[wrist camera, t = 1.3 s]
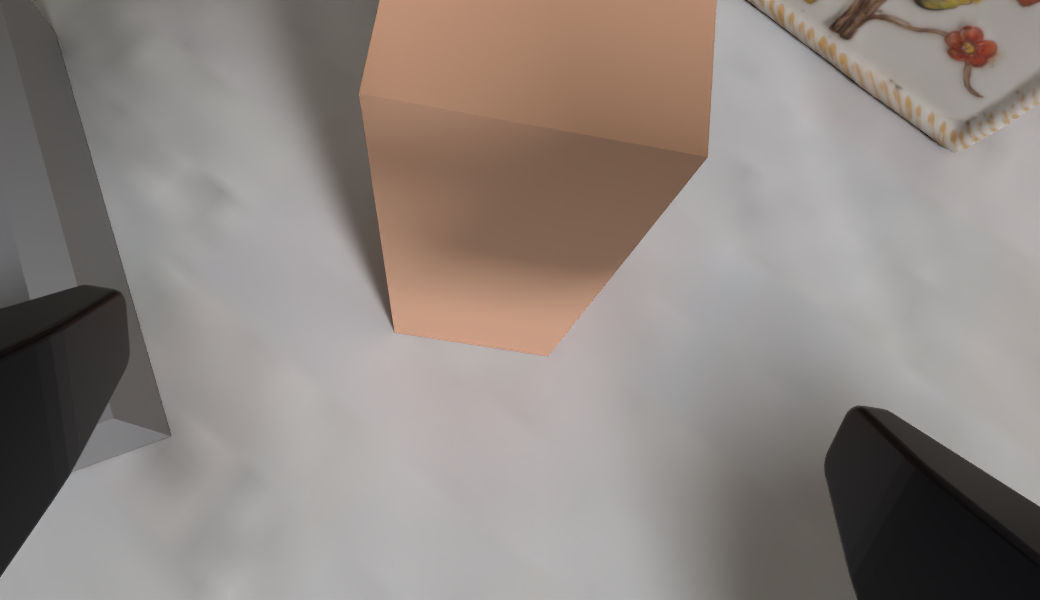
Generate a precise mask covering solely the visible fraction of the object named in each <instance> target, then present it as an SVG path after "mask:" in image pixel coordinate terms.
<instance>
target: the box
mask: <svg viewBox="0 0 1040 600" xmlns="http://www.w3.org/2000/svg"><path fill="white" fill-rule="evenodd" d="M80 285H93V286H100V287H106V288H112V289H117V290H119V291H120V292H121V293H122V294H123V295H124V297H125V300H126V305H127V316H128V328H129V340H130V358H129V362H128V365H127V368H126V370H125V372H124V374H123V376H122V378H121V380H120V382H119V384H118V386H117V388H116V390H115V391H114V393H113V395H112V397H111V399H110V401H109V403H108V405H107V407H106V409H105V411H104V412H103V414H102V416H101V418H100V420H99V422H98V424H97V426H96V428H95V430H94V431H93V433H92V435H91V437H90V439H89V441H88V443H87V445H86V447H85V449H84V451H83V452H82V454H81V456H80V458H79V460H78V462H77V463H76V465H75V467H74V469H73V470H72V472H73V471H76V470H79V469H81V468H84V467H87V466H90V465H93V464H95V463H98V462H101V461H104V460H106V459H109V458H112V457H115V456H118V455H120V454H123V453H126V452H129V451H131V450H134V449H137V448H140V447H142V446H145V445H148V444H151V443H154V442H156V441H159V440H162V439H165V438H167V437H170V436H171V434H170V430H169V427H168V423H167V420H166V416H165V413H164V409H163V406H162V402H161V399H160V395H159V392H158V388H157V385H156V381H155V378H154V374H153V371H152V367H151V364H150V360H149V357H148V353H147V350H146V347H145V343H144V340H143V336H142V333H141V329H140V326H139V322H138V319H137V315H136V312H135V308H134V305H133V301H132V298H131V294H130V291H129V287H128V284H127V280H126V277H125V273H124V270H123V266H122V263H121V259H120V256H119V252H118V249H117V246H116V242H115V239H114V235H113V232H112V228H111V225H110V221H109V218H108V214H107V211H106V207H105V204H104V200H103V197H102V193H101V190H100V186H99V183H98V179H97V176H96V172H95V169H94V165H93V162H92V158H91V155H90V151H89V148H88V144H87V141H86V138H85V134H84V131H83V127H82V124H81V120H80V117H79V113H78V110H77V106H76V103H75V99H74V96H73V92H72V89H71V85H70V82H69V78H68V75H67V71H66V68H65V64H64V61H63V57H62V54H61V50H60V47H59V43H58V40H57V37H56V33H55V32H54V31H53V29H52V28H51V27H50V25H49V24H48V23H47V21H46V20H45V19H44V17H43V16H42V15H41V14H40V12H39V11H38V10H37V8H36V7H35V6H34V4H33V3H32V2H31V0H0V309H1V308H5V307H8V306H11V305H15V304H18V303H22V302H25V301H29V300H32V299H35V298H39V297H42V296H46V295H49V294H53V293H56V292H59V291H63V290H66V289H70V288H73V287H77V286H80Z"/></svg>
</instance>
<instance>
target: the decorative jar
mask: <svg viewBox="0 0 1040 600" xmlns="http://www.w3.org/2000/svg"><path fill="white" fill-rule="evenodd" d="M748 1H749V2H751V3H752V4H753V5H754V6H755V7H757V8H758V9H759V10H761V11H762V12H763V13H765V14H766V15H767V16H769V17H771V18H772V19H773V20H774V21H775V22H777V23H778V24H779V25H781V26H782V27H784V28H785V29H786V30H787V31H789V32H790V33H791V34H793V35H794V36H795V37H797V38H798V39H799V40H800V41H802V42H803V43H804V44H806V45H807V46H809V47H810V48H811V49H813V50H814V51H815V52H817V53H818V54H820V55H821V56H822V57H823V58H825V59H826V60H827V61H829V62H830V63H832V64H833V65H834V66H835V67H836V68H838V69H839V70H840V71H841V72H843V73H844V74H845V75H847V76H848V77H849V78H851V79H852V80H854V81H855V82H856V83H857V84H858V85H859V86H860V87H862V88H863V89H864V90H866V91H867V92H869V93H870V94H871V95H872V96H874V97H875V98H877V99H878V100H880V101H882V102H883V103H884V104H885V105H887V106H888V107H890V108H891V109H893V110H894V111H895V112H897V113H898V114H899V115H900V116H902V117H903V118H905V119H906V120H907V121H909V122H910V123H912V124H913V125H914V126H916V127H917V128H919V129H920V130H921V131H923V132H924V133H926V134H927V135H928V136H930V137H931V138H932V139H933V140H934V141H936V142H937V143H938V144H940V145H942V146H943V147H945V148H947V149H948V150H950V151H952V152H959V151H962V150H964V149H966V148H968V147H970V146H971V145H973V144H975V143H976V142H978V141H980V140H982V139H985V138H986V137H988V136H990V135H991V134H992V133H994V132H996V131H998V130H999V129H1001V128H1002V127H1004V126H1005V125H1007V124H1009V123H1010V122H1011V121H1013V120H1014V119H1016V118H1018V117H1019V116H1021V115H1023V114H1024V113H1026V112H1028V111H1029V110H1031V109H1032V108H1033V107H1035V106H1036V105H1038V104H1040V0H748Z"/></svg>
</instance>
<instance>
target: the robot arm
mask: <svg viewBox="0 0 1040 600" xmlns="http://www.w3.org/2000/svg"><path fill="white" fill-rule="evenodd" d="M129 358H130V340H129V328H128V316H127V305H126V300H125V297H124V295H123V294H122V293H121V292H120V291H119V290H117V289H112V288H106V287H100V286H93V285H80V286H77V287H73V288H70V289H66V290H63V291H59V292H56V293H53V294H49V295H46V296H42V297H39V298H35V299H32V300H29V301H25V302H22V303H18V304H15V305H11V306H8V307H5V308H1V309H0V577H1V575H2V574H3V573H4V571H5V570H6V568H7V567H8V565H9V564H10V562H11V561H12V559H13V558H14V556H15V555H16V554H17V552H18V551H19V549H20V548H21V546H22V545H23V543H24V542H25V540H26V539H27V538H28V536H29V535H30V533H31V532H32V530H33V529H34V527H35V526H36V524H37V523H38V522H39V520H40V519H41V517H42V516H43V514H44V513H45V511H46V510H47V508H48V507H49V506H50V504H51V503H52V501H53V500H54V498H55V497H56V495H57V494H58V492H59V491H60V489H61V488H62V486H63V485H64V483H65V482H66V480H67V479H68V477H69V475H70V474H71V472H72V470H73V469H74V467H75V465H76V463H77V462H78V460H79V458H80V456H81V454H82V452H83V451H84V449H85V447H86V445H87V443H88V441H89V439H90V437H91V435H92V433H93V431H94V430H95V428H96V426H97V424H98V422H99V420H100V418H101V416H102V414H103V412H104V411H105V409H106V407H107V405H108V403H109V401H110V399H111V397H112V395H113V393H114V391H115V390H116V388H117V386H118V384H119V382H120V380H121V378H122V376H123V374H124V372H125V370H126V368H127V365H128V362H129ZM824 469H825V476H826V481H827V485H828V489H829V493H830V497H831V501H832V506H833V510H834V514H835V518H836V522H837V527H838V531H839V535H840V539H841V543H842V547H843V552H844V556H845V560H846V564H847V567H848V571H849V575H850V578H851V582H852V585H853V588H854V591H855V594H856V597H857V600H1040V506H1038V505H1036V504H1035V503H1033V502H1032V501H1030V500H1028V499H1027V498H1025V497H1024V496H1022V495H1021V494H1019V493H1017V492H1016V491H1014V490H1013V489H1011V488H1010V487H1008V486H1006V485H1005V484H1003V483H1002V482H1000V481H999V480H997V479H995V478H994V477H992V476H991V475H989V474H988V473H986V472H984V471H983V470H981V469H980V468H978V467H976V466H975V465H973V464H972V463H970V462H969V461H967V460H965V459H964V458H962V457H961V456H959V455H958V454H956V453H954V452H953V451H951V450H950V449H948V448H947V447H945V446H943V445H942V444H940V443H939V442H937V441H936V440H934V439H932V438H931V437H929V436H928V435H926V434H924V433H923V432H921V431H920V430H918V429H917V428H915V427H913V426H912V425H910V424H909V423H907V422H906V421H904V420H902V419H901V418H899V417H898V416H896V415H895V414H893V413H891V412H890V411H888V410H884V409H880V408H873V407H867V406H855V407H853V408H851V409H850V410H849V411H848V412H847V414H846V415H845V417H844V419H843V421H842V423H841V425H840V427H839V430H838V432H837V434H836V436H835V438H834V440H833V442H832V444H831V446H830V448H829V450H828V452H827V454H826V458H825V464H824Z"/></svg>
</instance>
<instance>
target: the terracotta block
mask: <svg viewBox="0 0 1040 600" xmlns="http://www.w3.org/2000/svg"><path fill="white" fill-rule="evenodd" d="M716 3H717V0H380V1H379V5H378V10H377V14H376V19H375V23H374V27H373V32H372V36H371V41H370V45H369V50H368V54H367V59H366V63H365V68H364V72H363V77H362V81H361V86H360V90H359V98H360V104H361V111H362V118H363V124H364V131H365V138H366V145H367V151H368V158H369V165H370V171H371V178H372V185H373V191H374V198H375V205H376V211H377V218H378V225H379V231H380V238H381V245H382V251H383V258H384V265H385V272H386V278H387V285H388V292H389V298H390V305H391V312H392V318H393V325H394V332H396V333H402V334H409V335H415V336H421V337H428V338H434V339H441V340H447V341H454V342H460V343H466V344H473V345H479V346H486V347H492V348H499V349H505V350H511V351H518V352H524V353H531V354H537V355H544V356H549V354H550V353H551V352H552V351H553V349H554V348H555V347H556V346H557V344H558V343H559V342H560V341H561V339H562V338H563V337H564V336H565V334H566V333H567V332H568V331H569V329H570V328H571V327H572V326H573V324H574V323H575V322H576V321H577V319H578V318H579V317H580V316H581V314H582V313H583V312H584V311H585V309H586V308H587V307H588V306H589V304H590V303H591V302H592V301H593V299H594V298H595V297H596V296H597V294H598V293H599V292H600V291H601V289H602V288H603V287H604V286H605V284H606V283H607V282H608V281H609V279H610V278H611V277H612V276H613V274H614V273H615V272H616V271H617V270H618V268H619V267H620V266H621V265H622V263H623V262H624V261H625V260H626V258H627V257H628V256H629V255H630V253H631V252H632V251H633V250H634V248H635V247H636V246H637V245H638V243H639V242H640V241H641V240H642V238H643V237H644V236H645V235H646V233H647V232H648V231H649V230H650V228H651V227H652V226H653V225H654V223H655V222H656V221H657V220H658V218H659V217H660V216H661V215H662V213H663V212H664V211H665V210H666V208H667V207H668V206H669V205H670V203H671V202H672V201H673V200H674V198H675V197H676V196H677V195H678V193H679V192H680V191H681V190H682V188H683V187H684V186H685V185H686V183H687V182H688V181H689V180H690V178H691V177H692V176H693V175H694V173H695V172H696V171H697V170H698V168H699V167H700V166H701V165H702V163H703V162H704V161H705V160H706V158H707V157H708V142H709V125H710V107H711V90H712V72H713V55H714V38H715V20H716Z"/></svg>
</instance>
